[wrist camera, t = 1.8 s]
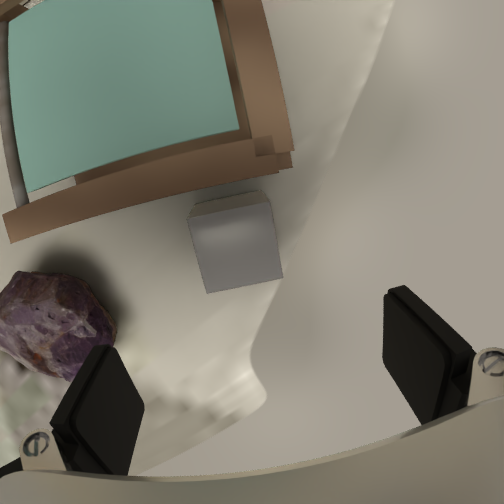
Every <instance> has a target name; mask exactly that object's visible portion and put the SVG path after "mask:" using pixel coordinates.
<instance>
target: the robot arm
mask: <svg viewBox="0 0 504 504" xmlns="http://www.w3.org/2000/svg"><path fill="white" fill-rule="evenodd" d="M27 1H28V0H24V1H22V2H21V3H19V4H20V5H23V4H25V3H26V2H27ZM382 358H383V363H384V365H385V367H386V369H387V370H388V372H389V373H390V375H391V376H392V378H393V379H394V381H395V382H396V384H397V386H398V387H399V389H400V391H401V392H402V394H403V395H404V397H405V399H406V400H407V402H408V403H409V405H410V407H411V408H412V410H413V411H414V413H415V415H416V416H417V418H418V420H419V421H420V423H421V426H419V427H416V428H414V429H411V430H408V431H406V432H403V433H400V434H397V435H394V436H392V437H389V438H386V439H383V440H380V441H377V442H374V443H371V444H368V445H365V446H362V447H359V448H355V449H352V450H348V451H344V452H341V453H337V454H333V455H329V456H325V457H321V458H317V459H312V460H308V461H303V462H298V463H293V464H288V465H283V466H277V467H271V468H265V469H258V470H252V471H244V472H235V473H225V474H214V475H200V476H176V477H175V476H174V477H147V476H146V477H145V476H127V475H128V471H129V467H130V463H131V459H132V455H133V451H134V447H135V443H136V440H137V436H138V432H139V428H140V425H141V421H142V417H143V414H144V403H143V400H142V399H141V397H140V395H139V393H138V391H137V389H136V387H135V386H134V384H133V382H132V380H131V378H130V376H129V374H128V372H127V370H126V368H125V366H124V364H123V362H122V360H121V358H120V356H119V354H118V352H117V350H116V349H115V348H114V347H112V346H111V345H109V344H103V345H95V346H94V347H93V348H92V349H91V351H90V353H89V354H88V356H87V358H86V359H85V361H84V363H83V364H82V366H81V368H80V369H79V371H78V373H77V374H76V376H75V378H74V380H73V381H72V383H71V385H70V386H69V388H68V390H67V392H66V394H65V395H64V397H63V399H62V401H61V402H60V404H59V406H58V408H57V410H56V412H55V413H54V415H53V417H52V419H51V421H50V425H51V426H52V427H53V430H52V432H51V431H49V430H48V429H43V428H42V429H36V430H33V431H31V432H30V433H28V434H27V435H26V436H25V437H24V438H23V440H22V441H21V443H20V447H19V452H20V457H19V458H18V459H16V460H14V461H12V462H10V463H9V464H7V465H5V466H3V467H1V468H0V504H504V349H502V348H496V347H492V348H486V349H483V350H481V351H480V352H478V353H476V352H475V351H474V350H473V349H472V346H471V345H469V343H467V342H466V341H465V340H464V339H463V338H462V337H461V336H460V335H459V334H458V333H457V332H456V331H455V330H454V329H453V328H452V327H451V326H450V325H449V324H448V323H446V322H445V321H444V320H443V319H442V318H441V317H440V316H439V315H438V314H436V313H435V312H434V311H433V310H432V309H431V308H430V307H429V306H428V305H427V304H426V303H425V302H423V301H422V300H421V299H420V298H419V297H418V296H417V295H416V294H414V293H413V292H412V291H411V290H410V289H409V288H408V287H406V286H405V285H402V286H398V287H395V288H391V289H389V290H388V293H387V294H385V295H384V317H383V356H382Z"/></svg>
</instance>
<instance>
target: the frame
mask: <svg viewBox="0 0 504 504" xmlns="http://www.w3.org/2000/svg"><path fill="white" fill-rule="evenodd" d="M22 1H24V0H0V125H1V132H2V139H3V145H4V151H5V157H6V162H7V167H8V172H9V177H10V182H11V186H12V190H13V194H14V198H15V202H16V206H17V208H16V209H14V210H12V211H9V212H7V213H5V214H3V215H2V216H3V219H4V223H5V226H6V230H7V233H8V236H9V239H10V243H14V242H17V241H20V240H23V239H26V238H29V237H31V236H34V235H37V234H40V233H43V232H46V231H49V230H52V229H56V228H59V227H62V226H65V225H68V224H71V223H75V222H78V221H81V220H84V219H88V218H91V217H94V216H98V215H101V214H105V213H108V212H112V211H115V210H119V209H122V208H126V207H130V206H133V205H137V204H141V203H145V202H149V201H152V200H156V199H160V198H164V197H168V196H172V195H176V194H181V193H185V192H189V191H193V190H198V189H202V188H206V187H211V186H215V185H220V184H225V183H229V182H234V181H239V180H244V179H249V178H254V177H259V176H264V175H269V174H274V173H279V170H282V169H287V168H293V166H292V161H291V155H290V151H294V145H293V140H292V135H291V130H290V124H289V119H288V114H287V109H286V104H285V100H284V95H283V90H282V85H281V81H280V76H279V72H278V67H277V63H276V58H275V54H274V50H273V46H272V41H271V37H270V33H269V29H268V25H267V21H266V17H265V13H264V9H263V6H262V2H261V0H212V2H213V7H214V11H215V16H216V20H217V25H218V30H219V34H220V39H221V44H222V48H223V53H224V58H225V62H226V67H227V72H228V76H229V81H230V86H231V91H232V96H233V100H234V105H235V110H236V115H237V120H238V124H239V130H236V131H231V132H226V133H221V134H216V135H212V136H207V137H203V138H199V139H194V140H190V141H186V142H182V143H178V144H174V145H170V146H167V147H163V148H159V149H155V150H152V151H148V152H145V153H141V154H138V155H135V156H131V157H128V158H125V159H121V160H118V161H115V162H112V163H109V164H106V165H103V166H100V167H97V168H94V169H91V170H88V171H85V172H82V173H80V174H77V175H74V177H75V181H76V186H73V187H70V188H67V189H65V190H62V191H59V192H56V193H54V194H51V195H49V196H46V197H43V198H41V199H38V200H36V201H33V202H31V203H30V202H29V199H28V195H27V191H26V187H25V182H24V178H23V173H22V169H21V164H20V159H19V153H18V148H17V142H16V136H15V129H14V122H13V114H12V106H11V95H10V82H9V61H8V36H9V22H10V21H12V20H13V19H15V18H16V17H18V16H19V15H21V14H22V13H24V12H26V11H27V10H29V9H28V8H26V7H24V6H22V5H20V4H19V3H21V2H22Z"/></svg>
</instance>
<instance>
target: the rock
mask: <svg viewBox="0 0 504 504" xmlns="http://www.w3.org/2000/svg"><path fill="white" fill-rule="evenodd" d="M116 333H117V328H116V324H115V322H114V321H113V319H112V318H111V316H110V314H109V313H108V311H105V309H104V307H102V306H100V305H99V302H98V300H97V299H96V298H95V297H94V295H93V294H92V292H91V289H90V287H89V286H88V284H87V283H86V282H85V281H83V280H80V279H78V278H75V277H73V276H70V275H64V274H61V273H60V274H57V273H52V274H44V273H39V272H33V271H32V272H31V273H29V272H22V271H17V272H16V273H15V274H14V275H13V277H12V279H11V281H10V282H9V284H8V285H7V286H6V287H5V288H4V289H3V290H2V292H1V293H0V350H1V351H4V352H6V353H8V354H10V355H12V357H13V358H14V359H16V360H17V361H19V362H20V363H22V364H23V365H25V366H26V367H27V368H28V369H30V370H32V371H35V372H40V373H43V374H46V375H49V376H53V377H60V378H64V379H65V380H66V381H69V382H71V381H73V380H74V378H75V376H76V374H77V373H78V371H79V369H80V368H81V366H82V364H83V363H84V361H85V359H86V358H87V356H88V354H89V353H90V351H91V349H92V348H93V347H94V346H95V345H103V344H109V345H111V346H112V347H113V345H114V341H115V337H116Z"/></svg>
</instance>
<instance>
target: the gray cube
mask: <svg viewBox="0 0 504 504" xmlns="http://www.w3.org/2000/svg"><path fill="white" fill-rule="evenodd" d="M187 221H188V225H189V229H190V233H191V237H192V241H193V245H194V249H195V253H196V256H197V260H198V264H199V268H200V271H201V275H202V279H203V282H204V286H205V289H206V293H207V294H208V293H213V292H218V291H223V290H228V289H233V288H238V287H243V286H248V285H253V284H257V283H262V282H267V281H272V280H276V279H281V278H283V273H282V267H281V261H280V255H279V249H278V244H277V238H276V232H275V227H274V221H273V216H272V210H271V205H270V201H269V200H268V198H267V197H266V196H265V194H264V193H263V192H262V190H260V191H255V192H250V193H245V194H240V195H235V196H230V197H226V198H221V199H216V200H212V201H207V202H203V203H198V204H195V205H194V207H193V209H192V211H191V212H190V214H189V216H188V218H187Z"/></svg>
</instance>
